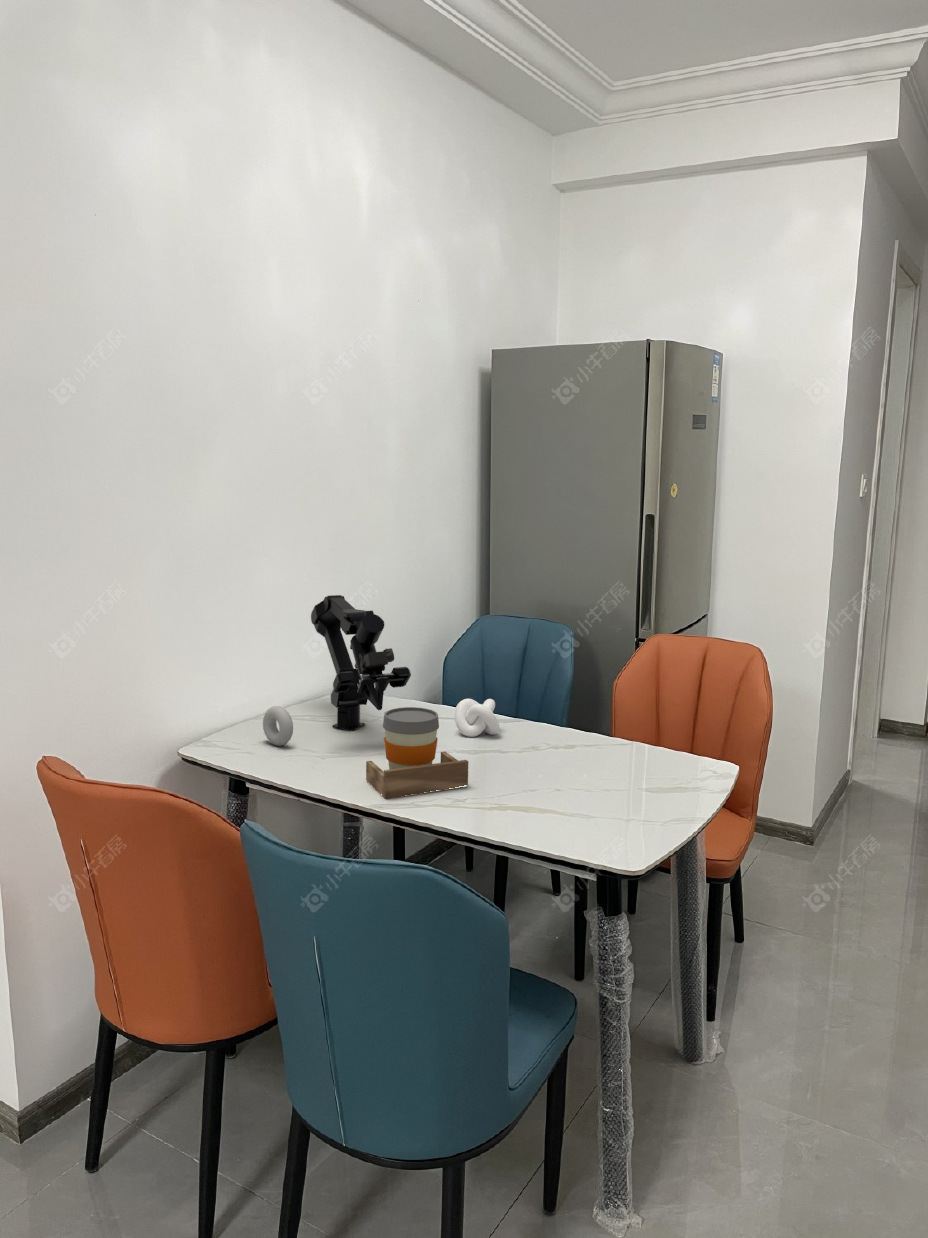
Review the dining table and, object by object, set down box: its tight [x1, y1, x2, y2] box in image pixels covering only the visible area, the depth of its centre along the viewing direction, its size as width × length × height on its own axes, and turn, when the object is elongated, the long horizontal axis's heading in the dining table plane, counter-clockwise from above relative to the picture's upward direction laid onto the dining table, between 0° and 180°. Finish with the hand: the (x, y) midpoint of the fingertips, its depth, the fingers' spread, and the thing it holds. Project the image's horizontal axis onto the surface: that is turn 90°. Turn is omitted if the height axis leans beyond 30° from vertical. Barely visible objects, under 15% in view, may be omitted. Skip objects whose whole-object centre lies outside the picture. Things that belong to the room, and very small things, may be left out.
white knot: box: [454, 698, 500, 738], centre depth 247 cm, size 11×12×9 cm
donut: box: [262, 705, 294, 747], centre depth 233 cm, size 10×4×10 cm, turn 49°
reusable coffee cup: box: [382, 706, 440, 770], centre depth 212 cm, size 13×13×15 cm
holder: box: [365, 751, 469, 800], centre depth 209 cm, size 12×19×6 cm, turn 115°
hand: (380, 709), depth 228 cm, fingers closed
